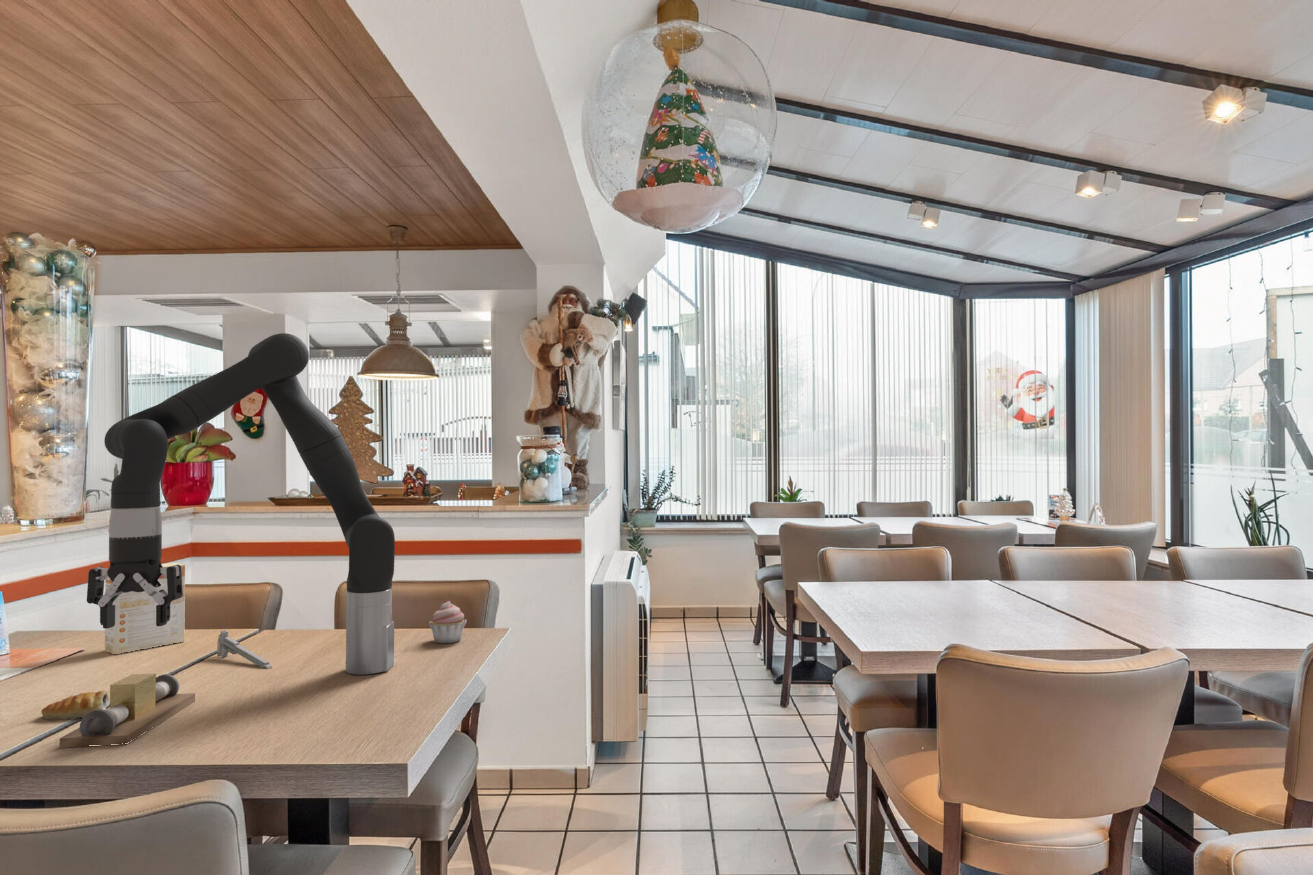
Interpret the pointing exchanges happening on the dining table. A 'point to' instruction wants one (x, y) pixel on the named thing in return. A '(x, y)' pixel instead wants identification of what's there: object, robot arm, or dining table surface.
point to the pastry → (77, 705)
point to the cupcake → (447, 624)
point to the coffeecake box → (144, 620)
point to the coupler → (134, 694)
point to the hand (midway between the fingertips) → (135, 626)
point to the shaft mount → (112, 723)
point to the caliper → (238, 650)
